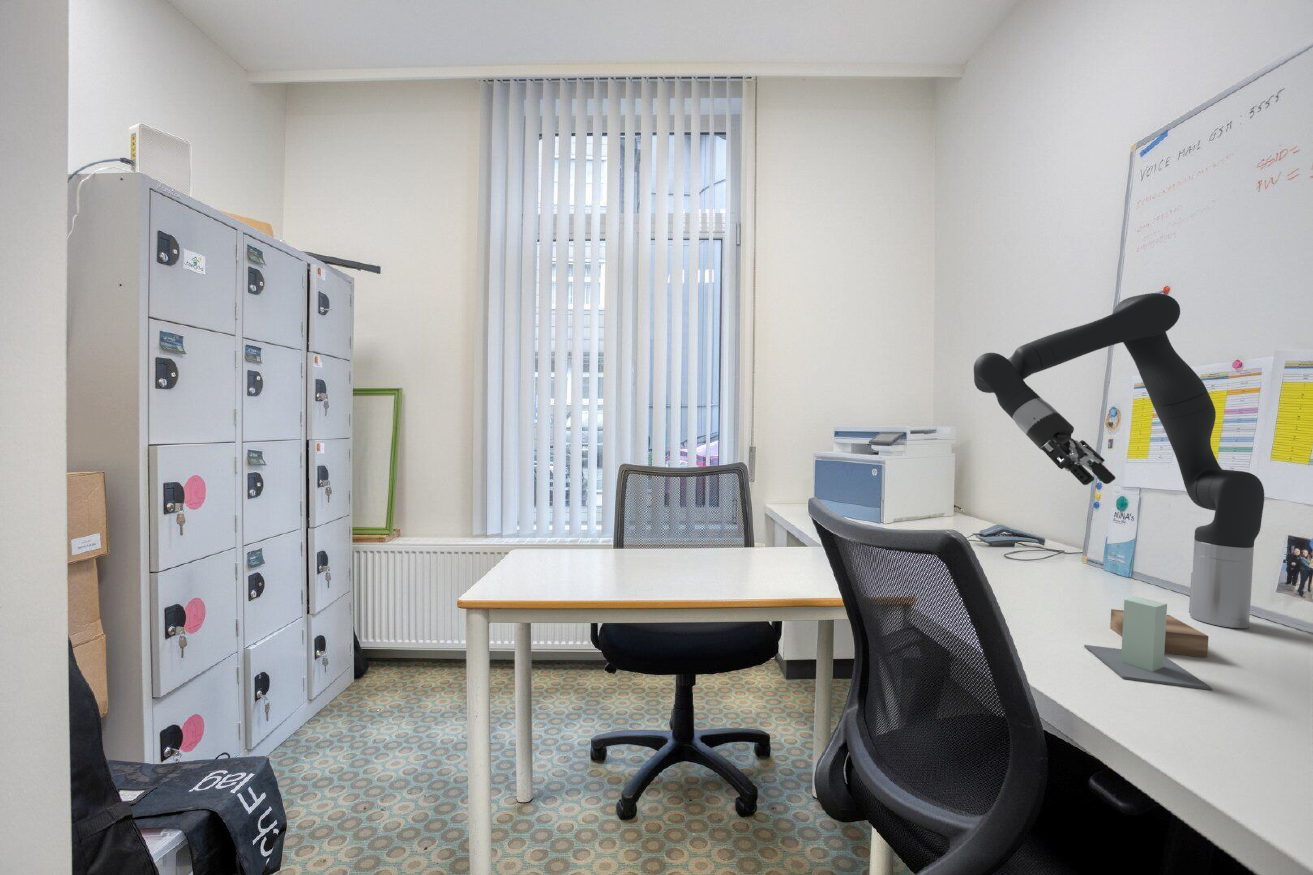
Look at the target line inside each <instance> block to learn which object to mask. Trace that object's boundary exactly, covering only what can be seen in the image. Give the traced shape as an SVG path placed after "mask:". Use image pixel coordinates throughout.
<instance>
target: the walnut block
mask: <svg viewBox="0 0 1313 875" xmlns="http://www.w3.org/2000/svg"><path fill="white" fill-rule="evenodd" d="M1123 615H1124V609H1114V608H1113V609H1112V608H1111V609H1110V625H1109V626H1110V627H1109V629H1110V630H1112V631H1113V632H1115V633H1116V634H1117V635H1119V636H1121V637H1122V634H1123ZM1208 649H1209V635H1208V634H1205V633H1204V632H1201V631H1200V630H1198V629H1196V628H1194V627H1193V626H1190V625H1189V624H1187V623H1185V622H1183V621H1181V620H1180V619H1178V618H1175V617H1174V616H1171V615H1170V614H1167V616H1166V633H1165V651H1164V654H1171V655H1179V656H1180V655H1181V656H1188V657H1198V658H1206V659H1207V658H1208V651H1209V650H1208Z"/></svg>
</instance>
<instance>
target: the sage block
mask: <svg viewBox="0 0 1313 875" xmlns="http://www.w3.org/2000/svg"><path fill="white" fill-rule="evenodd" d="M1123 601H1124V602H1123V610H1124V615H1123V634H1122V636H1121V637H1122V638H1121V649H1122V652H1121V662H1124V663H1127V664H1130V665H1133V666H1136V667H1139V668H1142V669H1145V670H1149V671H1152V672H1153V671H1155V670H1157V669H1160V668H1162V667H1164V656H1165V653H1164V651H1165V633H1166V616H1167V615H1168V613H1167V611H1168V603H1165V602H1162V601H1157V600H1153V599H1148V598H1144V597H1140V596H1132V597H1128V598H1125V599H1124V600H1123Z"/></svg>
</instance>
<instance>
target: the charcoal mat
mask: <svg viewBox="0 0 1313 875" xmlns="http://www.w3.org/2000/svg"><path fill="white" fill-rule="evenodd" d="M1083 646H1084V649H1086V650H1088V652H1090V653H1091V654H1092V655H1094V656H1095V657H1096V658H1097V659H1098V660H1100V661H1101V662H1102V663H1103V664H1104V665H1105V666H1107V667H1108V668H1109V669H1110V670H1111V671H1113V672H1114V673H1115V674H1116V675H1118V676H1119V677H1120V678H1122V680H1131V681H1138V682H1145V681H1147V682H1146V683H1154V684H1162V685H1170V686H1177V687H1185V688H1193V689H1200V690H1201V689H1202V690H1206V691H1207V690H1208V691H1212V690H1213V687H1211V686H1210V685H1208V684H1207V683H1206V682H1204V680H1201V679H1200V678H1198V677H1197V676H1195V675H1193V673H1191V672H1189V671H1188V670H1187V669H1185V668H1183V667H1181V666H1180V665H1179V664H1177V663H1176V662H1174V661H1173V660H1171V659H1170V658H1168V657H1167V656H1165V655H1164V667H1162V668H1160V669H1157V670H1155V671H1153V672H1152V671H1149V670H1145V669H1142V668H1139V667H1136V666H1133V665H1130V664H1127V663H1124V662H1121V652H1122V648H1117V647H1116V648H1115V647H1106V646H1105V647H1104V646H1100V645H1099V646H1098V645H1092V644H1091V645H1090V644H1084V645H1083Z"/></svg>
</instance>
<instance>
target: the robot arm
mask: <svg viewBox="0 0 1313 875" xmlns="http://www.w3.org/2000/svg"><path fill="white" fill-rule="evenodd" d="M1180 315H1181V307H1180V304H1179V303H1178V301H1177V300H1176V299H1175V298H1173V296H1170V295H1167V294H1165V293H1157V292H1155V293H1154V292H1151V293H1142V294H1139V295H1135V296H1134V295H1133V296H1130V297H1127V298H1125V299H1122V301H1120V302H1119V303H1118V304H1117V305H1116V306H1115V307H1114V309H1113V312H1112V314H1110V315H1107V316H1105V317H1104V316H1103V317H1102V318H1100V319H1096V320H1093V321H1090V322H1088V323H1085V324H1083V325H1078V326H1075V327H1071V328H1069V329H1065V330H1062V331H1058V332H1055V333H1052V334H1048V335H1046V336H1044V337H1040V338H1038V339H1036V340H1033V341H1030V342H1027V343H1025V344H1023V345H1020V346H1018V347H1017V348H1016V349H1015V351H1014V353H1013V354H1012V356H1010V357H1009V358H1006V357H1005V356H1004V355H1002V354H1000V353H997V352H985V353H983V354H981V355H979V356H978V357H977V359H976V360H975V361H974V364H973V382H974V385H975V387H976V389H977V390H979V391H980V392H983V393H986V394H993V393H994V395H995V397H996V399H997V403H998V404H999V406H1000V407H1001V408H1002V410H1003V411H1004V412H1006V414H1007V415H1008V416H1009V417H1010V418H1011V419H1012V420H1013V421H1014V423H1015V424H1016V426H1017V427H1018V429H1020V430H1021V431H1022V432H1023V433H1024V434H1025V435H1026V436H1027V437H1028V438H1029V440H1030V441H1032V443H1034V444H1035V446H1036V447H1037V448H1038V449H1040V450H1041V451H1043V452H1044V453H1045V454H1046V455H1047V457H1048V458H1049V459H1050V460H1051V461H1052V462H1053V463H1054V464H1055V465H1056V466H1057V467H1058V468H1059V469H1060V470H1063V469H1064V470H1065V471H1067V472H1070V473H1071V474H1072V475H1073V476H1074V477H1075V478H1076V479H1077V480H1078V481H1079V482H1080V484H1082V485H1083V486H1088V485H1090V484H1091V483H1092V482H1094V481H1095V477H1094V476H1096V477H1097V478H1098V479H1099V480H1100V481H1101V482H1102V483H1103V484H1105V485H1109V484H1110V483H1112V482H1114V481H1115V480H1116V476H1115V475H1114V474H1113V473H1112V472H1111V471H1110V470H1109V469H1108V468H1107V467H1106V466H1105V465H1104V462H1105V459H1104V457H1102V455H1100V453H1098V452H1097V451H1095V449H1093V448H1092V446H1090V445H1089V443H1087V442H1086V441H1085V440H1083V439H1081V440H1080V441H1079V440H1077V439H1073V438H1072V434H1073V433H1074V431H1075V428H1074V426H1073V425H1072V424H1071V423H1070V422H1069V421H1068V420H1067V419H1066V418H1065V417H1064V416H1063V415H1061V414H1060V413H1059V411H1058V410H1056V409H1055V408H1054V407H1053V406H1052V405H1051V404H1050V403H1049V402H1047V401H1046V400H1044V399H1043V397H1041V396H1040V395H1039V394H1038V393H1037V392H1036V391H1035V390H1033V389H1032V387H1030V386H1029V385H1028V384H1027V383H1026V382H1025V381H1024V380H1025V379H1026V378H1028V377H1030V376H1031V375H1033V374H1036V373H1039V372H1042V371H1045V370H1047V369H1050V368H1053V367H1055V366H1056V367H1057V366H1058V365H1061V364H1064V363H1066V362H1069V361H1072V360H1075V359H1077V358H1080V357H1082V356H1084V355H1087V354H1090V353H1092V352H1096V351H1098V350H1101V349H1105V348H1108V347H1110V346H1115V345H1117V344H1121V343H1123V345H1124V346H1125V348H1126V350H1127V351H1128V353H1129V354H1130V357H1131V358H1132V360H1133V361H1134V364H1135V366H1136V368H1137V370H1138V373H1139V376H1140V378H1141V380H1142V383H1143V386H1144V388H1145V390H1146V391H1147V394H1148V397H1149V399H1150V402H1151V404H1152V406H1153V408H1154V409H1153V410H1154V411H1155V413H1156V414H1157V415H1156V416H1157V417H1158V420H1159V421H1160V423H1161V425H1162V427H1163V430H1164V431H1165V434H1166V437H1167V438H1168V441H1169V444H1170V446H1171V448H1172V451H1173V453H1174V455H1175V457H1176V461H1177V464H1178V468H1179V470H1180V475H1181V477H1182V481H1183V484H1184V488H1185V490H1186V493H1187V495H1188V497H1189V498H1190V500H1191V501H1192V503H1194V504H1195V505H1196V506H1198V507H1200V508H1202V509H1206V510H1209V511H1214V517H1213V520H1212V521H1211V522H1210V523H1209V524H1206V525H1200V526H1198V527H1196V528H1195V530H1194V537H1193V538H1194V540H1193V557H1192V558H1193V559H1192V572H1191V573H1190V589H1189V604H1188V613H1189V616H1190V617H1191V618H1192V619H1194V620H1197V621H1200V622H1203V623H1205V624H1210V625H1214V626H1219V627H1223V628H1224V627H1226V628H1231V629H1248V628H1249V627H1250V614H1251V602H1252V601H1251V598H1252V586H1253V585H1252V584H1253V567H1254V549H1255V548H1254V547H1255V541H1256V538H1257V537H1258V536H1259V534H1260V531H1261V528H1262V520H1263V519H1262V518H1263V513H1264V512H1263V511H1264V504H1265V489H1264V484H1263V482H1262V481H1261V479H1260V478H1259V477H1258V476H1256V475H1255V474H1253V473H1251V472H1247V471H1242V470H1232V469H1223V468H1222V467H1221V466H1220V464H1219V462H1218V461H1217V459H1216V456H1215V454H1214V451H1213V448H1212V444H1211V440H1212V434H1213V429H1214V427H1215V422H1216V415H1217V414H1216V408H1215V404H1214V403H1213V401H1212V400H1213V399H1212V398H1211V395H1210V394H1209V392H1208V389H1207V387H1206V385H1205V383H1204V382H1203V380H1202V379H1201V377H1200V376H1199V375H1198V374H1197V373H1196V372H1195V371H1194V369H1193V368H1192V367H1191V366H1190V365H1188V363H1187V362H1186V361H1185V360H1183V358H1182V357H1181V356H1180V355H1179V354H1178V353H1177V352H1176V350H1175V349H1174V347H1173V345H1172V343H1171V342H1170V339H1169V337H1168V334H1167V332H1168V331H1169V330H1171V329H1172V328H1173V327H1174V326H1175V325H1176V323H1177V322H1178V321H1179V319H1180ZM1086 468H1087V469H1086ZM1088 469H1089V470H1090V471H1091V472H1092V473H1093V474H1094V476H1093V475H1092V474H1091V473H1090V472H1089V471H1088Z"/></svg>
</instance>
